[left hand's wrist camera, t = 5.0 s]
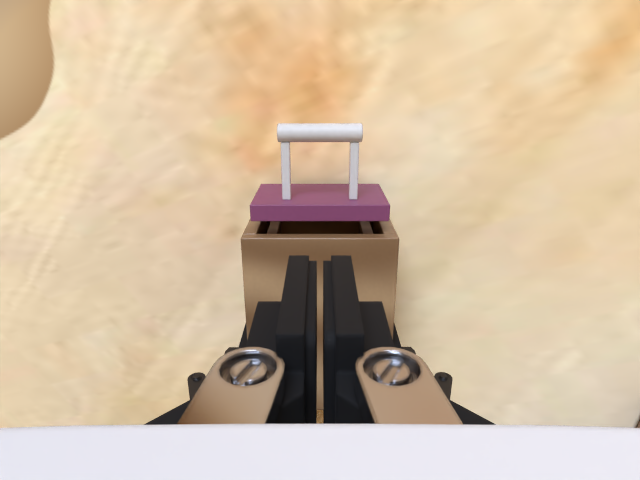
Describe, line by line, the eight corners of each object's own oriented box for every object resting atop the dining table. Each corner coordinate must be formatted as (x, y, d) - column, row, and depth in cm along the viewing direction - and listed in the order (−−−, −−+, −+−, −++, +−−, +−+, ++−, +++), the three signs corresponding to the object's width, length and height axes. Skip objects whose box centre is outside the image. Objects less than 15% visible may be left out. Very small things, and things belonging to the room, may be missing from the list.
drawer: (257, 117, 35) (245, 126, 29) (382, 117, 35) (394, 126, 29) (267, 325, 42) (258, 367, 36) (372, 325, 42) (381, 367, 36)
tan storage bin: (256, 205, 39) (240, 238, 31) (383, 205, 39) (399, 238, 31) (263, 350, 44) (251, 410, 36) (376, 350, 44) (388, 410, 36)
